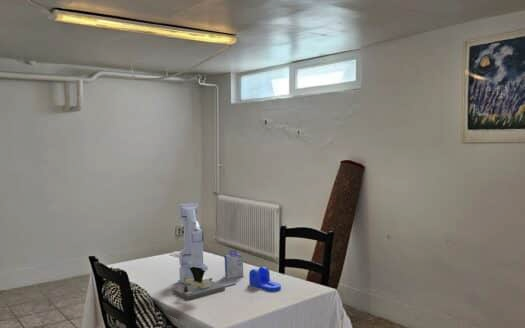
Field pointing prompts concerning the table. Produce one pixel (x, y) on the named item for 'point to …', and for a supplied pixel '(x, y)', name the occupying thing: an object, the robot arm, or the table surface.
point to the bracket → (263, 280)
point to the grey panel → (198, 291)
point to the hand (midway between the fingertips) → (198, 282)
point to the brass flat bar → (190, 281)
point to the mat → (226, 283)
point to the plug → (206, 282)
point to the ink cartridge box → (233, 265)
